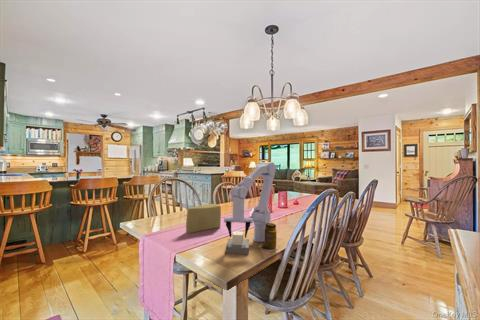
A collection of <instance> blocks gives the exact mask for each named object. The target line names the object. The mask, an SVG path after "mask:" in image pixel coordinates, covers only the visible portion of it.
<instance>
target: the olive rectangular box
mask: <svg viewBox="0 0 480 320" xmlns="http://www.w3.org/2000/svg"><path fill="white" fill-rule="evenodd" d="M221 207H222V206H221V205H220V204H216V203H209V204H202V205H198V206H193V207H188V209H187V212H186V219H185V221H186V222H185V223H186V224H185V225H186V226H185V233H187V234H190V233H191V232H192V233H195V232H202V231H208V230H214V229H220V228H221V221H222V220H221V216H222V212H221V211H222V208H221Z"/></svg>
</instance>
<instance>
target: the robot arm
mask: <svg viewBox="0 0 480 320" xmlns="http://www.w3.org/2000/svg"><path fill="white" fill-rule="evenodd" d="M276 169H277V167H276V164H275V163H274V162H273V161H270V162H269V161H258V162H257V164H255V168H254V169H253V170H252V172H251V173H250V174H249V176H244V177H243V178H242V180H241V181H240V182H239V183H238V184H237V185H234V186H233V187H232V188H231V190H230V196H231V199H232V216H231V217H230V216H229V217H224V218H223V223H225V226H226V228H227V231H228V235H229V238H232V223H239V224H240V223H243V224H245V226H244V227H245V231H244V232H245V233H244V239H247V235H248V231H249V229H250V226H251V224H254V228H253V230H254V231H253V237H252V238H253V242H260V243H263V242H264V243H265V229H266V228H265V227H266V224H267V223H271V210H270V209H269V208H268V206H269V203H270V201H269V200H270V196H271V191H272V188H273V187H272V186H273V182H274V178H275V174H276ZM259 176H261V177H262V178H263V182H262V186H261V191H260V196H259V201H258V204H257V206H256V207H254V208H253V211H252V213H251V218H250V217H245V198H246V197H247V195H248V192H249V190H250V189H251V187H252V186H253V185H254V181H256V179H257V178H258V177H259Z"/></svg>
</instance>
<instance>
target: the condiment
mask: <svg viewBox="0 0 480 320" xmlns="http://www.w3.org/2000/svg"><path fill="white" fill-rule="evenodd" d="M265 228H266V229H265V242H264V244H263V245H261V246H259V247H258V248H259V249H261V250H263V251H266V252H269V253H272V252H273V251H275V250H277V249H279V248H280V246H278V245H277V225H276V224H275V223H273V222H269V223H267V224H266V227H265Z"/></svg>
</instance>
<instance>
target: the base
mask: <svg viewBox="0 0 480 320" xmlns="http://www.w3.org/2000/svg"><path fill="white" fill-rule="evenodd" d="M232 244H233V238H227V242H226V245H225V254H238V255H240V254H241V255H249V250H250V249H249V247H250V238H249V239H247V238H243V245H232Z"/></svg>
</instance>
